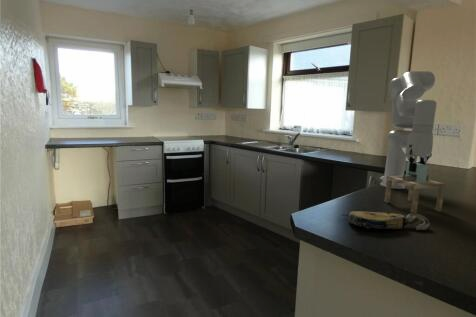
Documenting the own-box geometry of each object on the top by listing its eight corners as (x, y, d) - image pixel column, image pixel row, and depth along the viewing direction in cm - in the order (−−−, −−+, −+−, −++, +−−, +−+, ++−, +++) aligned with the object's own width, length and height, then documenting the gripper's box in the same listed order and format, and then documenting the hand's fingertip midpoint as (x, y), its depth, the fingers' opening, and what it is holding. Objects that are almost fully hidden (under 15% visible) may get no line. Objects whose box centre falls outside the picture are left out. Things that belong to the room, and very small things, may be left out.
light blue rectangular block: (405, 180, 133) (407, 162, 132) (412, 180, 134) (414, 162, 133) (418, 184, 127) (420, 165, 126) (425, 183, 128) (428, 165, 127)
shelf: (384, 201, 138) (387, 171, 135) (409, 200, 142) (413, 171, 140) (413, 213, 123) (418, 180, 120) (441, 211, 127) (446, 179, 125)
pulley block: (443, 218, 99) (351, 213, 100) (443, 236, 99) (350, 230, 100) (420, 210, 113) (339, 206, 114) (419, 226, 113) (338, 221, 114)
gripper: (429, 129, 133) (423, 169, 136) (399, 128, 128) (394, 170, 131) (445, 130, 126) (438, 173, 129) (414, 129, 121) (408, 173, 124)
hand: (416, 171), depth 130 cm, fingers closed on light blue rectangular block, 4 cm apart
